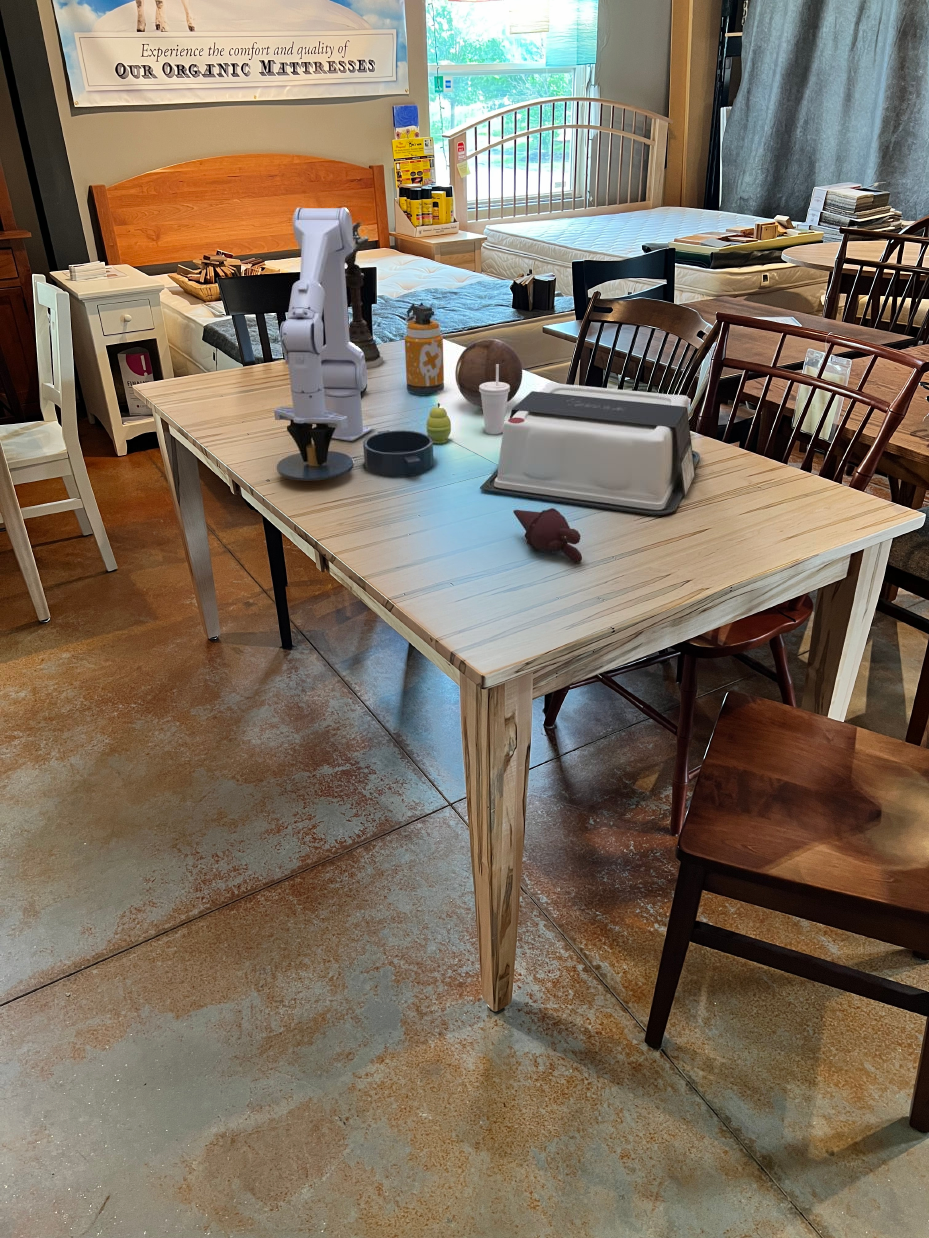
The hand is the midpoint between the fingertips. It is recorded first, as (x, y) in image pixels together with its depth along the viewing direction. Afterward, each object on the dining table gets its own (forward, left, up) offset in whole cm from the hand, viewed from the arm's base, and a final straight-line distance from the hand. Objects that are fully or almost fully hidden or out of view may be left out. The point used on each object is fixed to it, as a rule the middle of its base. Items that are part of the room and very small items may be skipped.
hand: (315, 461), depth 161 cm
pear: (+12, +27, -3) cm, 30 cm away
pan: (+11, +12, -3) cm, 17 cm away
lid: (0, 0, -1) cm, 1 cm away
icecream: (+50, -11, -3) cm, 51 cm away
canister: (-8, +58, -3) cm, 59 cm away
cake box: (+47, +23, -3) cm, 52 cm away
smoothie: (+20, +37, -3) cm, 42 cm away
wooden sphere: (+12, +52, -3) cm, 53 cm away
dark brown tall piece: (-36, +71, -3) cm, 80 cm away
